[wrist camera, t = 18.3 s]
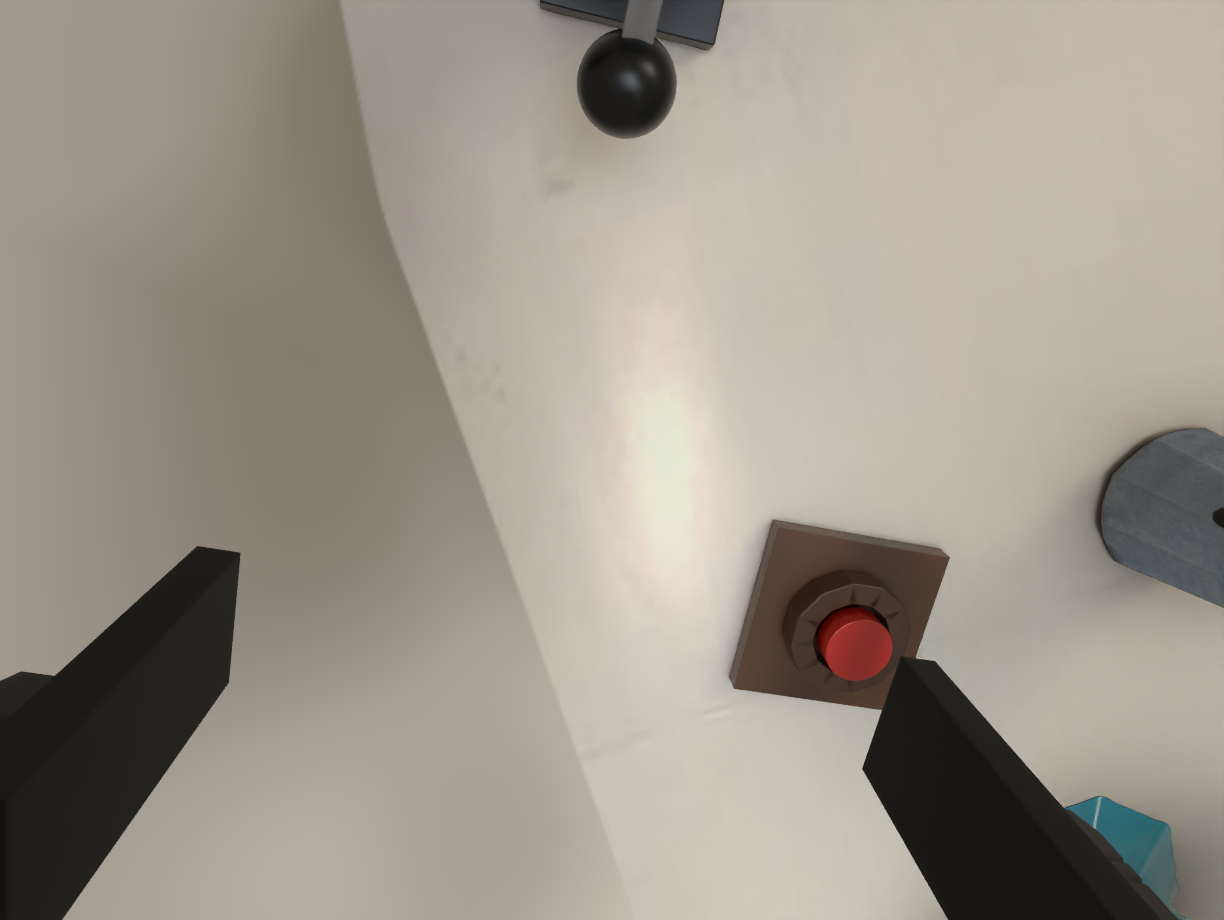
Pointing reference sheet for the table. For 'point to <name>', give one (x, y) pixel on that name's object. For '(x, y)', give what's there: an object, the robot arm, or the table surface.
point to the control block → (831, 610)
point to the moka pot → (1171, 512)
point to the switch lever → (628, 76)
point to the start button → (854, 643)
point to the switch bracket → (682, 20)
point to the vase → (1136, 844)
